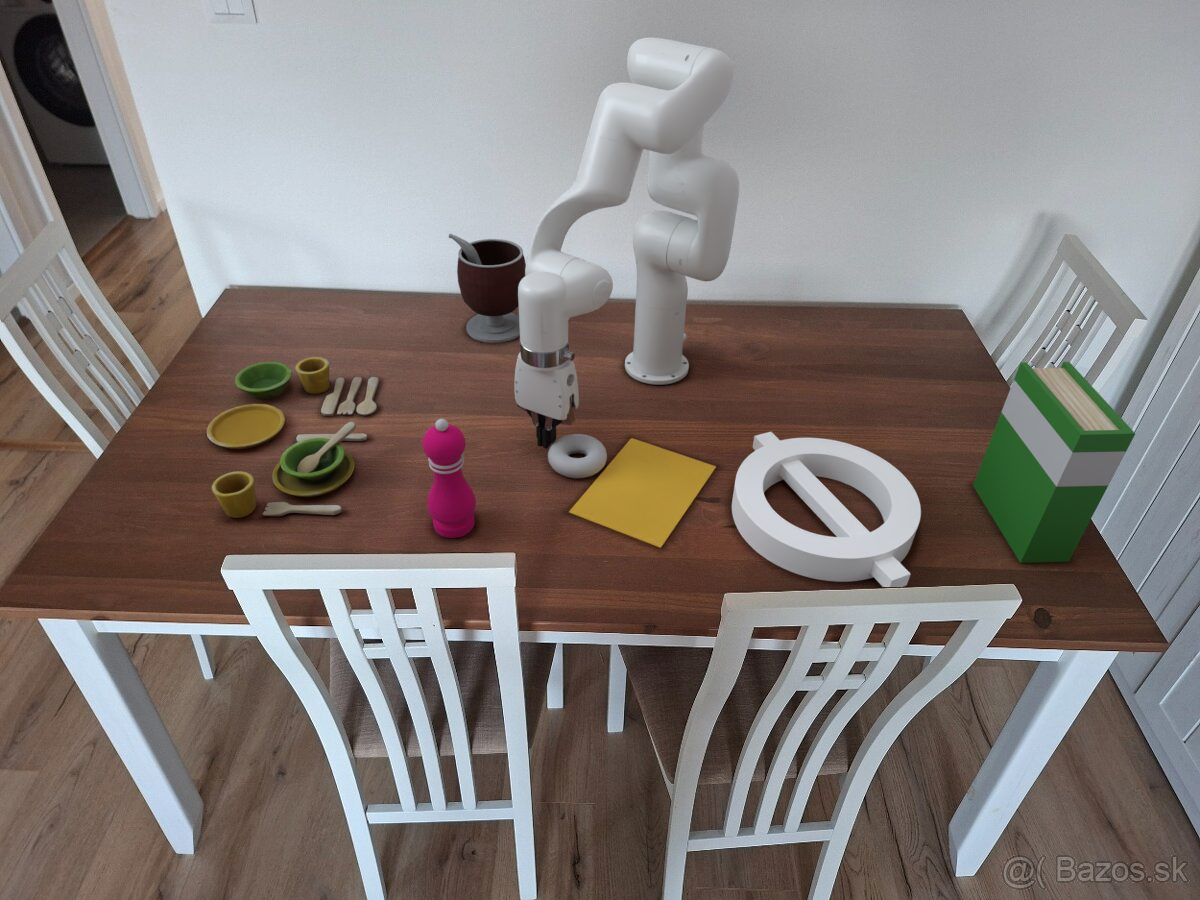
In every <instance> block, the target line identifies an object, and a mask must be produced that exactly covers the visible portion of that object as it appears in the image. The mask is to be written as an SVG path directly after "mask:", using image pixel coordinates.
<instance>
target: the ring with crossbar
mask: <svg viewBox="0 0 1200 900" xmlns="http://www.w3.org/2000/svg"><path fill="white" fill-rule="evenodd" d="M752 450H754V451H753V452H751V453H750V454H748V456H746V457H745V459H744V460H743V461H742V462H741V464H740V466H739V467H738V470H737V472H736V475H735V480H734V486H733V494H732V501H731V515H732V519H733V522H734V525H735V527H736V529H737V530H738V532H739V534H740V535H741V537H742V538H743V540H744V541H745V542H746V543H747V544H748V545H749V546H750V547H751V548H752V549H753V550H754V551H755V552H756V553H757V554H758V555H760V556H761V557H763V558H764V559H766V560H767V561H769V562H770V563H772V564H774V565H775V566H777V567H779V568H782V569H784V570H785V571H787V572H790V573H793V574H796V575H799V576H802V577H806V578H809V579H815V580H820V581H826V582H840V583H841V582H843V583H845V582H858V581H864V580H870V579H872V578H874V579H875V581H876V582H877V583H878V584H879V585H880V586H881V587H882V588H883V587H901V588H903V587H906V586H907V585H908V582H909V580H910V577H911V572H910V571H908V569H906V567H905V566H904V565H903V564H902V562H903V561H904V560H905V559H906V557H907V556H908V554H909V553H910V550H911V548H912V544H913V542H914V539H915V536H916V533H917V530H918V528H919V526H920V525H919V524H920V522H921V516H922V509H921V507H922V506H921V503H920V502H921V501H920V499H919V497H918V494H917V491H916V490H915V488H914V486H913V485H912V483H911V482H910V481H909V479H907V477H906V476H905V475H904V474H903V473H902V472H901V471H900V470H899V469H898V468H896V467H895V466H894V465H893V464H891V463H890V462H888V461H887V460H885V459H884V458H883V457H880V456H879V455H877V454H875V453H874V452H871V451H870V450H867V449H864V448H862V447H860V446H856V445H853V444H851V443H848V442H843V441H839V440H834V439H828V438H821V437H794V438H785V439H781V440H780V439H779V438H778V437H777V436H776V435H775V434H774V433H773V431H768V432H764V433H760V434H756V435H754V436H753V442H752ZM817 477H820V478H825V479H831V480H834V481H837V482H839V483H840V482H841V483H842V484H845V485H848V486H850V487H852V488H854V489H855V490H857V491H859V492H861V494H863V495H865V496H866V497H867V498H868V499H869V500H870V501H871V502H872V503H873V504H874V505H875V507H876V508H877V509H878V511H879V513H880V515H881V517H882V520H883V524H881V525H880V526H879V527H877V528H876V529H873V530H872V531H869V529H868V528H867V527H865V526H864V525H863V524H862V522H860V521H859V520H858V518H856V516H854V514H853V513H852V512H851V511H850V510H849V509H848V508H847V507H846V506H845V505H844V504H843V503H842V502H841V501H840V500H839V499H838V498H837V497H836V496H835V495H834V494H833V493H832V492H831V491H830V490H829V489H828V488H827V487H826V486H825V485H824V484H823V483H822V482H821V481H820V480H819V478H817ZM781 481H784V482H785V483H786V484H787V485H788V486H789V487H790V488H791V489H792V490H793V491H794V492H795V493H796V495H797V496H798V497H799V498H800V499H801V500H802V501H803V502H804V503H805V504H806V505H807V506H808V508H810V509H811V511H812V512H813V513H814V514H815V515H816V516H817V517H818V518H819V519H820V521H822V522H823V523H824V525H825V526H826V527H827V528H828V529H829V530H830V531H831V532H832V533H833V534H834V535H835V536H829V535H823V534H818V533H816V532H815V533H814V532H811V531H808V530H806V529H802V528H801V527H798V526H797V525H794V524H792V523H791V522H789V521H787V520H786V519H785V518H783V517H782V516H781V515H779V514H778V513H777V512H776V511H775V510H774V509H773V507H772V506H771V505H770V503H769V502H768V500H767V498H766V496H765V492H766V491H767V490H768V489H769V488H770V487H772V486H773V485H775V484H776V483H779V482H781Z"/></svg>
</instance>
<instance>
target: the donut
mask: <svg viewBox="0 0 1200 900" xmlns="http://www.w3.org/2000/svg"><path fill="white" fill-rule="evenodd" d="M574 454H580V455H581V454H582V455H584V457H579V458H578V457H571V456H570V455H574ZM607 460H608V455H607V448H606V447H605V446H604V444H603V443H602V441H600V440H599V439H597V438H595V437H594V436H591V435H589V434H583V433H572V434H567V435H563V436H561V437H560V438H558V439H556V440H555V442H554V443H552V444H551V445H550V446H549V449H548V451H547V461H548V463H549V465H550V466H551V469H552V470H553V471H555V472H556V473H557V474H559V475H561V476H563V477H565V478H571V479H585V478H589V477H592V476H594V475H596V474H598V473H600V471H601V470H602V469H604V467H605V466H606V463H607Z"/></svg>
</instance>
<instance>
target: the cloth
mask: <svg viewBox="0 0 1200 900" xmlns="http://www.w3.org/2000/svg"><path fill="white" fill-rule="evenodd" d="M716 468H717V466H716V465H713V464H710V463H707V462H704V461H702V460H698V459H695V458H692V457H689V456H686V455H684V454H680V453H677V452H675V451H671V450H668V449H665V448H662V447H660V446H656V445H654V444H651V443H649V442H645V441H642V440H639V439H635V438H633V437H631V438H630V439H629V440H628V441H627V443H626V444H625V445H624V446H623V447H622V449H620V451H619V452H617V454H616V455H615V457H613V459H612V460H611V461H610V463H608V465H607V466H606V467H605V468H604V469H603V470H602V471H601V473H600V474H599V475H598V477H596V479H595V480H594V481H593V482H592V484H591V485H590V486H589V487H588V489H587V490H586V491H585V492H584V493H583V495H581V497H580V498H579V499H578V500H577V501H576V503H574V505H573V506H572V507H571V508H570V510H569V511H568V514H571V515H574V516H576V517H579V518H581V519H584V520H587V521H589V522H591V523H594V524H597V525H599V526H603V527H604V528H606V529H610V530H612V531H615V532H618V533H621V534H624V535H626V536H628V537H630V538H633V539H635V540H638V541H641V542H643V543H646V544H648V545H650V546H651V545H652V546H654V547H656V548H659V549H662V547H663V546H664V544H665V543H666V541H667V540H668V539H669V536H671V534H672V533H673V531H674V530H675V528H676V527H677V525H678V524H679V522H680V521H681V520H682V518H683V516H684V515H685V514H686V512H687V511H688V509H689V508H690V506H691V505H692V504H693V502H694V500H695V499H696V498H697V496H698V495H699V493H700V492H701V490H702V489H703V487H704V486H705V484H706V483H707V482H708V480H709V478H710V477H711V475H712V474H713V472H714V471H715V470H716Z"/></svg>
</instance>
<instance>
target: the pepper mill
mask: <svg viewBox="0 0 1200 900" xmlns="http://www.w3.org/2000/svg"><path fill="white" fill-rule="evenodd" d="M466 445H467V444H466V438H465V434H464V433H463V431H462V430H461V429H460V428H459V427H458V426H456V425H454V424H451V423H449V422H448V420H447V419H445V418H439V419H437V420H436V421H435V423H434V425H433V426H430V428H428V430H427V431H426V432H425V433H424V436H423V438H422V450H423V452H424V454H425V455H426V457H427V460H428V466H429V468H430V470H431V471H433V483H432V485H431V488H430V490H429V492H428V494H427V495H428V496H427V500H426V501H427V502H426V503H427V505H426V506H427V511H428V513H429V515H430V517H431V518H432V525H433V530H434V531H435V532H436V534H437V535H439V536H441V537H443V538H447V539H457V538H462V537H464V536H466V535H467V534H469V533H470V532H471V531H472V530H473V529H474V527H475V523H476V521H475V513H474V512H475V510H476V508H477V507H476V505H477V501H476V496H475V495H476V494H475V492H474V491H473V488H472V487H471V486H470V484H469V482H468V481H467V480H466V478H465V476H464V474H463V470H462V467H463V466H464V464H465V459H464V452H465V449H466Z"/></svg>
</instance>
